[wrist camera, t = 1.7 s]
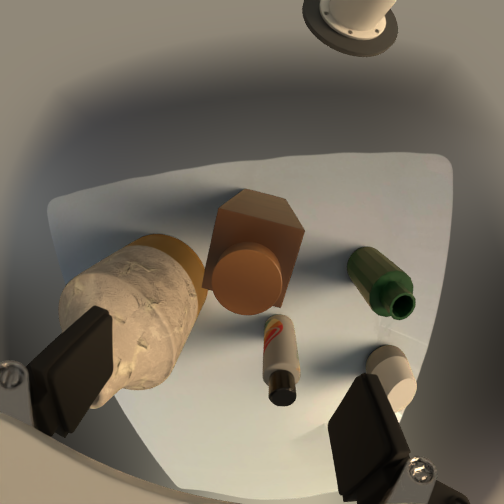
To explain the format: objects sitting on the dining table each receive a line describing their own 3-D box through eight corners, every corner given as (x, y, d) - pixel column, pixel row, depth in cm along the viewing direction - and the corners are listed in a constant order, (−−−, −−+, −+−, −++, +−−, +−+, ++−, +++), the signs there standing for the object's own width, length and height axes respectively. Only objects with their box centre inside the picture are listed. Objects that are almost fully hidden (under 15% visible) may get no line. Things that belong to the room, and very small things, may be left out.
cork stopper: (229, 226, 22) (219, 241, 18) (286, 240, 22) (291, 259, 18) (217, 278, 24) (205, 305, 19) (270, 292, 24) (271, 322, 19)
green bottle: (354, 242, 48) (391, 275, 32) (388, 252, 48) (432, 287, 32) (341, 278, 50) (370, 325, 34) (374, 287, 51) (411, 333, 34)
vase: (106, 281, 53) (8, 362, 24) (151, 213, 49) (31, 267, 20) (172, 338, 56) (113, 452, 27) (228, 279, 52) (183, 401, 22)
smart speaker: (404, 360, 55) (428, 399, 42) (370, 380, 57) (387, 422, 43) (393, 333, 53) (419, 373, 40) (356, 355, 55) (374, 399, 41)
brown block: (245, 188, 47) (218, 207, 22) (285, 199, 47) (305, 230, 22) (235, 228, 49) (201, 287, 24) (274, 238, 49) (280, 308, 24)
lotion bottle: (258, 323, 54) (253, 395, 35) (283, 308, 53) (289, 378, 33) (274, 343, 55) (276, 417, 36) (299, 329, 54) (311, 402, 35)
